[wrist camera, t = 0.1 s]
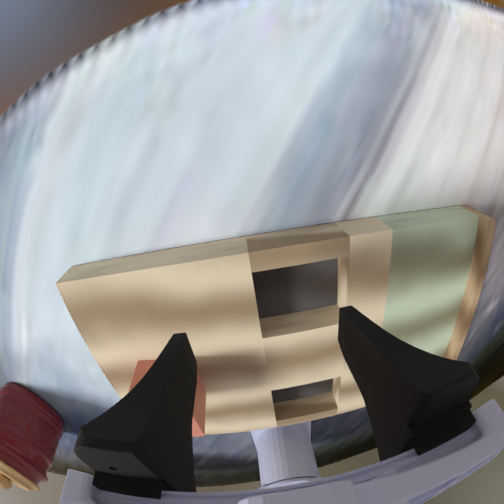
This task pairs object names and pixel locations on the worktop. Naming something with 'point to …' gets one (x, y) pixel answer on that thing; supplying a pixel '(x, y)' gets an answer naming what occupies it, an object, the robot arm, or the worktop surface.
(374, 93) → the worktop surface
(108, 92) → the worktop surface
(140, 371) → the block
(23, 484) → the canister
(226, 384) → the board
